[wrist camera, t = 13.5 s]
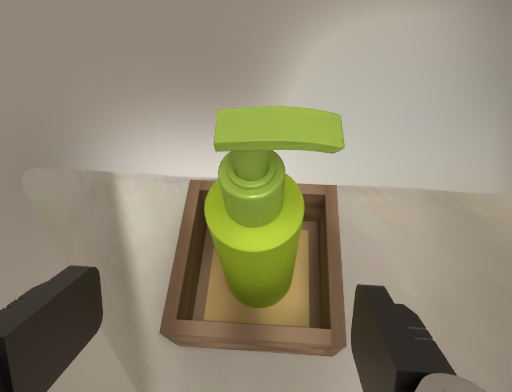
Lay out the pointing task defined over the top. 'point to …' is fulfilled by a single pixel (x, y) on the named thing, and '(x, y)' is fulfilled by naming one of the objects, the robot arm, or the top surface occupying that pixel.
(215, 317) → the walnut box
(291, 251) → the soap dispenser
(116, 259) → the top surface
